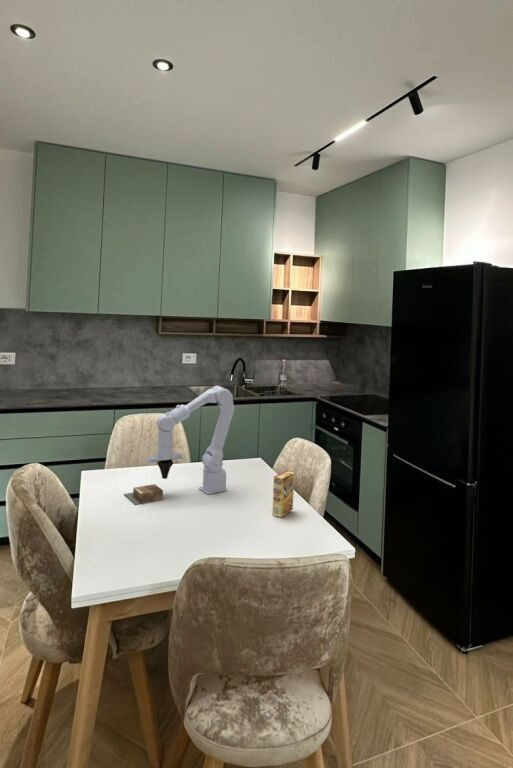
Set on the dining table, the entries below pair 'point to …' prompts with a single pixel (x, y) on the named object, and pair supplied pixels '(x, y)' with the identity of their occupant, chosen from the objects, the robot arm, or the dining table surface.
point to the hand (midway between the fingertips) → (164, 478)
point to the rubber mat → (134, 500)
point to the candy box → (283, 493)
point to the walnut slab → (148, 493)
